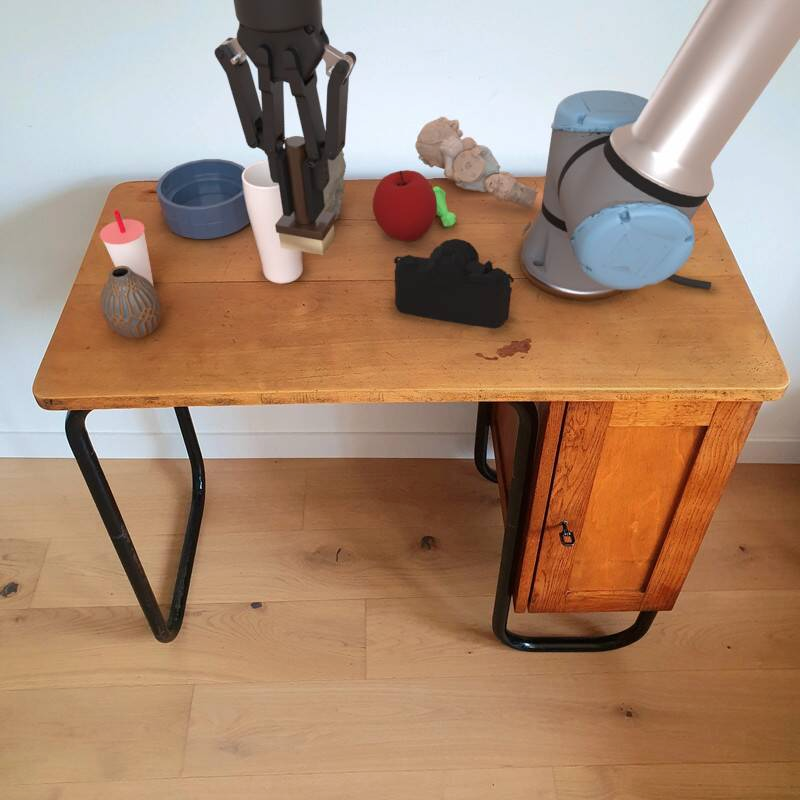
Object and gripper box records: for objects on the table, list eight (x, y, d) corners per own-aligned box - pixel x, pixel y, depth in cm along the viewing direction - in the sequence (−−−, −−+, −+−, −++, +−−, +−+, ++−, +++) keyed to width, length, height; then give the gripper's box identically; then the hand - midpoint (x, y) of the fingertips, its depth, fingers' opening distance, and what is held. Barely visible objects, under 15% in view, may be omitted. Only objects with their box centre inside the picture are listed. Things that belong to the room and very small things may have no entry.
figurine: (464, 119, 122) (549, 196, 114) (433, 164, 125) (514, 241, 118) (433, 105, 114) (522, 186, 107) (402, 153, 118) (486, 235, 111)
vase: (99, 329, 97) (77, 273, 90) (145, 302, 100) (127, 246, 94) (132, 354, 93) (111, 298, 87) (178, 326, 97) (162, 269, 90)
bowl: (271, 199, 116) (266, 166, 112) (231, 249, 108) (224, 215, 104) (192, 185, 119) (185, 153, 115) (148, 233, 111) (138, 199, 107)
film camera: (517, 287, 102) (525, 229, 95) (504, 334, 95) (511, 276, 89) (406, 268, 105) (406, 211, 98) (386, 313, 98) (384, 255, 92)
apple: (447, 241, 108) (450, 177, 101) (388, 257, 106) (386, 192, 99) (421, 207, 114) (422, 145, 107) (364, 221, 112) (361, 158, 105)
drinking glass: (300, 292, 101) (287, 191, 90) (251, 285, 102) (232, 185, 91) (314, 261, 106) (304, 161, 95) (267, 255, 107) (251, 156, 96)
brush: (337, 236, 86) (328, 135, 77) (324, 256, 83) (313, 154, 74) (292, 228, 87) (278, 128, 78) (278, 248, 84) (262, 146, 76)
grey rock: (350, 216, 119) (295, 181, 119) (377, 160, 113) (318, 123, 112) (310, 255, 109) (250, 217, 109) (338, 196, 102) (273, 154, 102)
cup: (152, 303, 100) (127, 224, 91) (113, 299, 101) (84, 220, 92) (167, 277, 104) (144, 199, 95) (129, 274, 104) (103, 196, 95)
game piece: (413, 209, 112) (435, 236, 110) (426, 185, 110) (449, 211, 107) (435, 211, 115) (456, 237, 112) (448, 187, 113) (470, 213, 110)
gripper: (171, -24, 64) (223, 218, 81) (343, -6, 61) (359, 243, 78) (213, -53, 69) (254, 182, 86) (374, -38, 66) (383, 203, 83)
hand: (304, 210), depth 82 cm, fingers closed on brush, 2 cm apart
